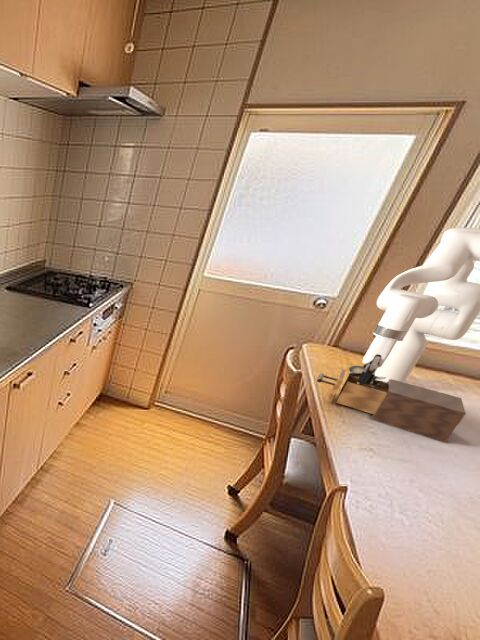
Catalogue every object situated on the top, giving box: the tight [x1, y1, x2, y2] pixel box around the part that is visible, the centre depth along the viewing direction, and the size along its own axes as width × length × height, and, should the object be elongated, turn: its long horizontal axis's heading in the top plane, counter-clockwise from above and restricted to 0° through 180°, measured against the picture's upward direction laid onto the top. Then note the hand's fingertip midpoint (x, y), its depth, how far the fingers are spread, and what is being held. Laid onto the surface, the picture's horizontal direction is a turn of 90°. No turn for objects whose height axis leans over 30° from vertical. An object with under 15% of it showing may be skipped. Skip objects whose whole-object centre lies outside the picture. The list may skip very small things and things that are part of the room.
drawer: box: [316, 368, 388, 415], centre depth 149 cm, size 22×14×9 cm, turn 46°
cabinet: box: [371, 379, 467, 443], centre depth 139 cm, size 18×15×11 cm
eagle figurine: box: [348, 365, 386, 389], centre depth 146 cm, size 8×7×9 cm
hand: (363, 379), depth 146 cm, fingers closed on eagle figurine, 8 cm apart
